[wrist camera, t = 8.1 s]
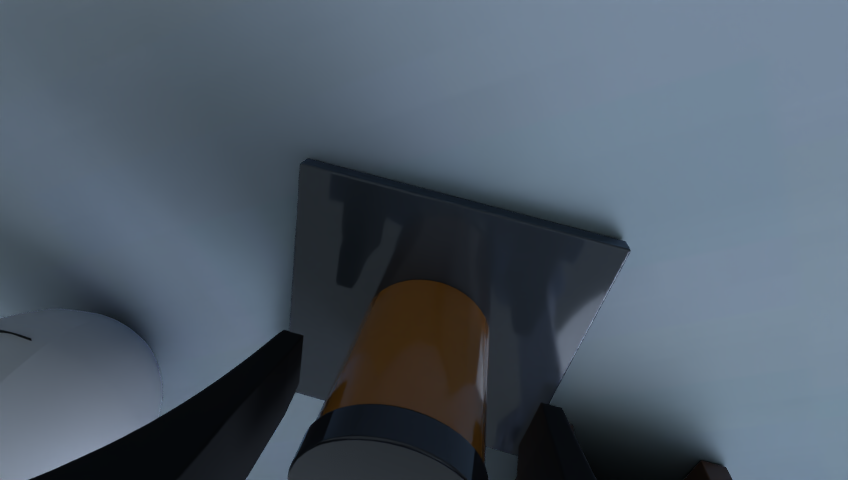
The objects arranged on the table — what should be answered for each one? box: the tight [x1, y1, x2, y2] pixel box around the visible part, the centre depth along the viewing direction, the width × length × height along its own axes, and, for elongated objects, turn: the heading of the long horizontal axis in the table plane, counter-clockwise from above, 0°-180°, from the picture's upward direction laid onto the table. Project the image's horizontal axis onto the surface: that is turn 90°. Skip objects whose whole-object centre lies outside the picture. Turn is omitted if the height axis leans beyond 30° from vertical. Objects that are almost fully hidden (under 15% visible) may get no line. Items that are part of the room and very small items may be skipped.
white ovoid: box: [0, 308, 163, 480], centre depth 15 cm, size 10×7×7 cm
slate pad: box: [289, 158, 630, 456], centre depth 15 cm, size 10×10×1 cm
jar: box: [288, 280, 490, 480], centre depth 12 cm, size 5×5×6 cm
